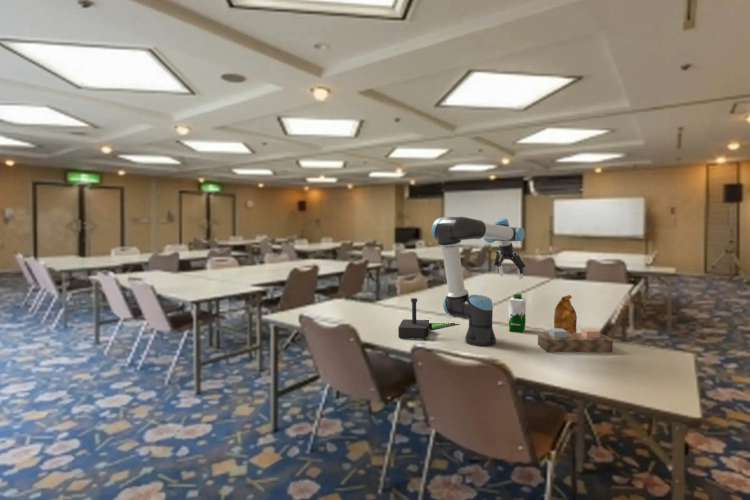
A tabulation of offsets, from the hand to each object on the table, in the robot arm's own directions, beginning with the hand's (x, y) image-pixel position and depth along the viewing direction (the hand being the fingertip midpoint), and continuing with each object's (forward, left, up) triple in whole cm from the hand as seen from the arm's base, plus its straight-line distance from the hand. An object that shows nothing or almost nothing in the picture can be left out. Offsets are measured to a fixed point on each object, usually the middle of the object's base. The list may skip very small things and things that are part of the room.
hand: (511, 277), depth 253 cm
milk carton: (-2, -20, -28) cm, 34 cm away
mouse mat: (-47, -3, -28) cm, 55 cm away
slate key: (+7, -54, -24) cm, 59 cm away
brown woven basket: (+15, -54, -28) cm, 62 cm away
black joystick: (-59, -28, -28) cm, 71 cm away
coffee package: (+19, -34, -28) cm, 48 cm away
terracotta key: (+22, -54, -24) cm, 63 cm away
